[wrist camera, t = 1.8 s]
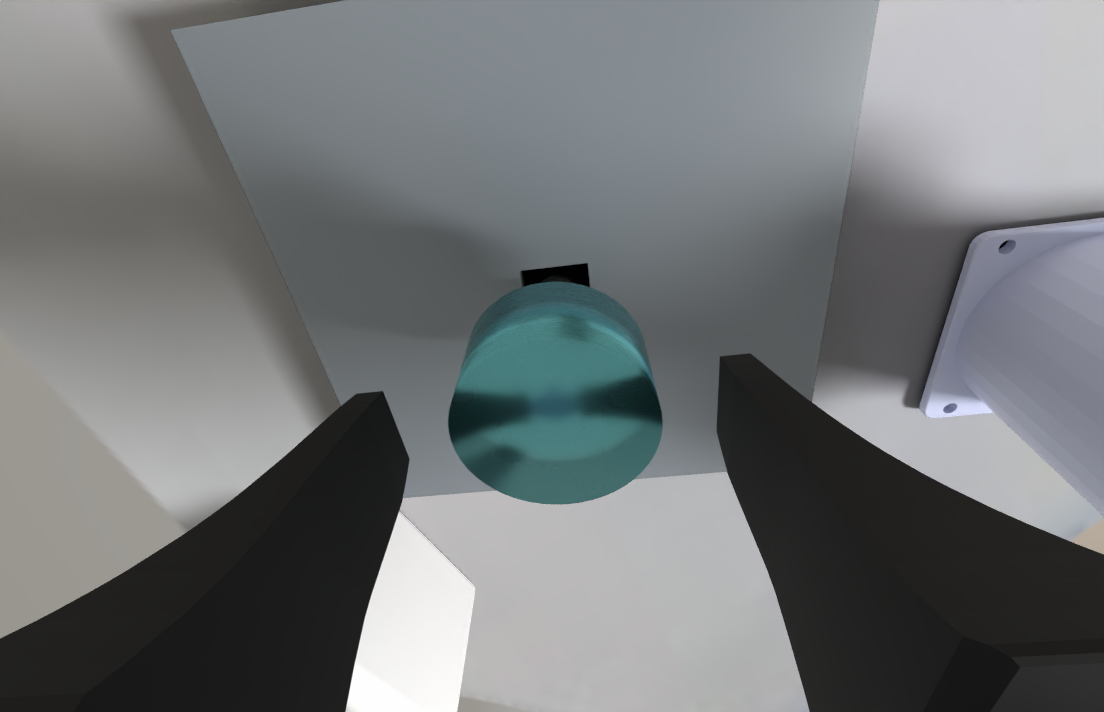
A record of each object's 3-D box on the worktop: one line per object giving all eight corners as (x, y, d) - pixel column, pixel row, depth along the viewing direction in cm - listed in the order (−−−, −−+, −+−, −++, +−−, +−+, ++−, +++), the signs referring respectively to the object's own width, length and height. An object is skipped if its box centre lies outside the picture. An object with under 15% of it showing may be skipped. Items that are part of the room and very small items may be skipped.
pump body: (825, -74, 14) (894, -94, 11) (770, 405, 23) (800, 465, 20) (245, 24, 15) (170, 29, 12) (405, 439, 24) (383, 499, 21)
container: (279, 546, 28) (105, 879, 18) (396, 502, 26) (279, 850, 16) (370, 618, 32) (272, 931, 21) (479, 585, 30) (431, 912, 19)
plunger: (625, 213, 15) (660, 329, 10) (634, 346, 17) (664, 496, 12) (471, 233, 15) (423, 354, 10) (500, 359, 18) (474, 511, 12)
